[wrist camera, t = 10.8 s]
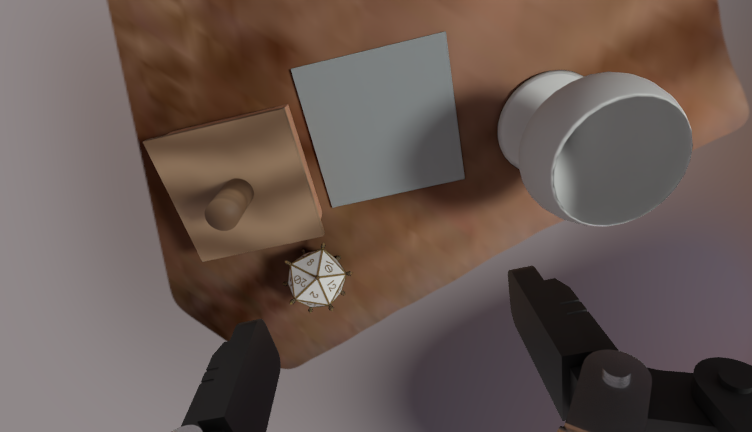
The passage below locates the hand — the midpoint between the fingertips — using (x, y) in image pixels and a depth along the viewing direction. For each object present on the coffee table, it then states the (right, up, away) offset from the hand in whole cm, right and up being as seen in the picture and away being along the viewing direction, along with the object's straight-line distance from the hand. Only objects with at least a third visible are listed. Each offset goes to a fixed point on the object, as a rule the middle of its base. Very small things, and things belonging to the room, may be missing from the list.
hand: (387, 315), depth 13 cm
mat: (+1, +14, +34) cm, 36 cm away
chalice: (+20, +14, +34) cm, 42 cm away
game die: (-8, -3, +42) cm, 43 cm away
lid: (-15, +6, +32) cm, 36 cm away
